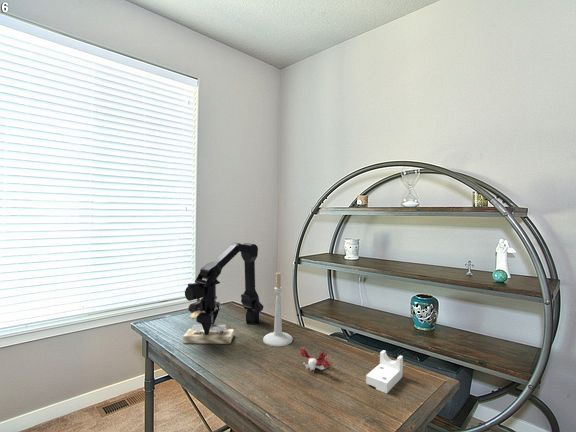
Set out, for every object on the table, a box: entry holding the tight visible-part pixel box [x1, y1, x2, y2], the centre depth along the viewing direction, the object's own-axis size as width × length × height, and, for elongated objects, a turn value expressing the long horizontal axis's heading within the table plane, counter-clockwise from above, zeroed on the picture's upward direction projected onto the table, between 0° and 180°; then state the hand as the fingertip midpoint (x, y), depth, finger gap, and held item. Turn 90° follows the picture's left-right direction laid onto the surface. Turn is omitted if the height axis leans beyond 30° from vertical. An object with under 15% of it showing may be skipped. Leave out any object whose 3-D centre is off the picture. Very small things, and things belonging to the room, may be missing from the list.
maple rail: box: [182, 328, 235, 345], centre depth 140 cm, size 20×8×3 cm, turn 90°
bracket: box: [365, 349, 404, 394], centre depth 108 cm, size 13×7×8 cm, turn 139°
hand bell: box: [189, 298, 204, 320], centre depth 169 cm, size 8×8×16 cm
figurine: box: [299, 345, 334, 374], centre depth 116 cm, size 15×12×7 cm
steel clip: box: [191, 323, 227, 334], centre depth 140 cm, size 14×2×6 cm, turn 90°
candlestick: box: [262, 272, 294, 348], centre depth 140 cm, size 13×13×30 cm
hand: (209, 330), depth 140 cm, fingers open, 9 cm apart
